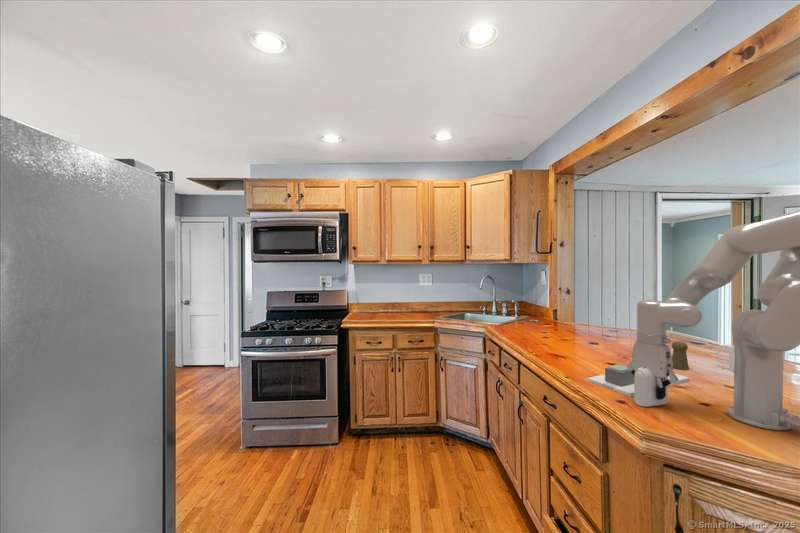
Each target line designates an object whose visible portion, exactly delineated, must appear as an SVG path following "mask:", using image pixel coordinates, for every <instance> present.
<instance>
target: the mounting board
mask: <svg viewBox="0 0 800 533" xmlns="http://www.w3.org/2000/svg"><path fill="white" fill-rule="evenodd" d="M674 374H675V375H676V377H677V378H678V381H676V382H674V383H671V384H670V385H668V387H671V386H675V385H679V384H683V383H687V382H690V377H688V376H685V375H682V374H677V373H674ZM668 379H670V377H669V376H668ZM586 381H587V382H588V383H591V384H594V385H597V386H599V387H601V388H605V389H607V390H611V391H614V392H615V391H616V392H615V393H618V394H620V395H624V396H626V397H628V398H629V397H630V398H631V397H634V375H633V374H632V372H631V371H630V370H629V369H628V368H627V366H626V365H621V364H616V365H612V366H608V367H607V366H606V367H604V373H603V374H599V375H596V376H595V375H593V376H591V377H587V378H586Z"/></svg>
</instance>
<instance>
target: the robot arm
mask: <svg viewBox="0 0 800 533" xmlns="http://www.w3.org/2000/svg"><path fill="white" fill-rule="evenodd" d="M778 251H780V254H779V257H778V260H777V261H776V263H775V265H774V266H773V268H772V269H771V271H770V272H769V273H768V275H767V277H766V278H765V279H764V281H763V282H762V284H761V285H760V287H759V289H758V292H757V298H758V300H759V301H760V302H761V304H762V305H764V306H766V307H765V310H761V309H747V310H743V311H741V312H739V313H737V315H735V317H734V318H733V320H732V322H731V333H732V339H733V345H734V350H735V362H734V373H733V374H734V376H733V378H734V380H733V405H732V406H729V407H726V414H727V415H728V416H729V417H730V418H732V419H734V420H736V421H738V422H741V423H744V424H746V425H749V426H753V427H756V428H761V429H766V430H771V431H788V430H790V429H791V428H792V426H793V427H796V428H799V429H800V418H799V417H798V416H797V417H796V416H792V415H790V414H789V413H788V409H787V408H785V407H783V406H784V404H783V403H784V402H783V400H784V395H783V394H784V393H783V392H784V355H783V352H788V351H792V350H794V349H796V348H797V347H799V346H800V210H798V211H793V212H787V213H784V214H782V215H779V216H778V217H774V218H770V219H765V220H762V221H755V222H750V223H745V224H740V225H735V226H733V227H731V228H729V229H727V230H726V231H725V232H724V233H723V234H722V236H720V238H719V239H718V241H717V242H716V243H715V244H714V246H713V247H712V248H711V249H710V250H709V252H708V253H707V254H706V255H705V257H704V258H703V259H702V261H700V263H699V264H698V265H697V266H696V267H695V268H694V270H692V271H691V272H690V273H689V274H688V275H687V276H686V277H684V279H683V280H681V281H680V282H679V283H678V284H677V285H676V287H674V289H673V290H672V291H671V293H670V294H669V295H668V297H667V298H666V299H665V300H664V301H662V300H653V299H642V300H639V301H638V302H637V304H636V340H635V341H634V344H633V347H632V353H631V361H630V362H628V364H626V367H627V368H628V369H629V370H630V371H631V372H632V374H633V375H634V376H635V371H636V370H637V369H638V368H640V367H645V368H646V367H647V368H649V369H650V370H651V372H652V373H653V376H655V377H656V379H657V382H658V387H656V399H658V400H660V399H664V398H665V396H666V386H668V385H670V384H671V383H674V382H676V381H678V378H677V377H676V375H675V374H676V373H674V368H673V361H672V354H673V353H672V351H671V347H670V345H668V344H672V340H671V338H668V336H667V325H669V326H676V327H681V328H691V327H695V326H697V325H698V324H700V322H701V321H702V318H703V314H702V311H701V310H700V309H699V307H697V305H698V304H699V303H700V302H701V301H702V300H703V299H704V298H705V297H706V296H707V295H708V294H710V293H711V292H713V291H715V290H717V289H720V288H723V287H724V286H727V285H728V284H730V283H731V282H732V281H733V280H734V279H735V278H736V276H737V275H739V273H740V272H741V270H742V269H743V268H744V267H745V266H746V264H747V263H748V262H749V261H750V260H751V258H752V257H753V256H754V255H761V254H768V253H773V252H778ZM666 376H669V377H670V379H668V380H666Z"/></svg>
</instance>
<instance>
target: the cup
mask: <svg viewBox="0 0 800 533" xmlns="http://www.w3.org/2000/svg"><path fill="white" fill-rule="evenodd" d="M721 347H723V348H726V349H728V352H729V353H728V355H729V356H728V360H722V359H721V355H720V351H721ZM716 358H717V361H718V362H719V363H721V364H727V365H728V370H729V372H731V373H733V374H734V362H735V350H734V344H730V345H725V344H719V345H718V346H717V349H716Z"/></svg>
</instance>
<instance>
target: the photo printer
mask: <svg viewBox="0 0 800 533" xmlns="http://www.w3.org/2000/svg"><path fill="white" fill-rule="evenodd" d="M666 380H668V376H666ZM656 387H658V382H657V379H656V377H655V376H653V373H652V372H651V370H650V369H649V368H647V367H646V368H645V367H640V368H638V369H637V370H636V371H635V376H634V396H633V400H634V403H635V404H636V405H638V406H640V407H646V408H647V407H655V406H663V405H665V406H666V405H667V404H668V392H669V391H668V386H666V396H665V398H664V399H660V400H658V399H656Z"/></svg>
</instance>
